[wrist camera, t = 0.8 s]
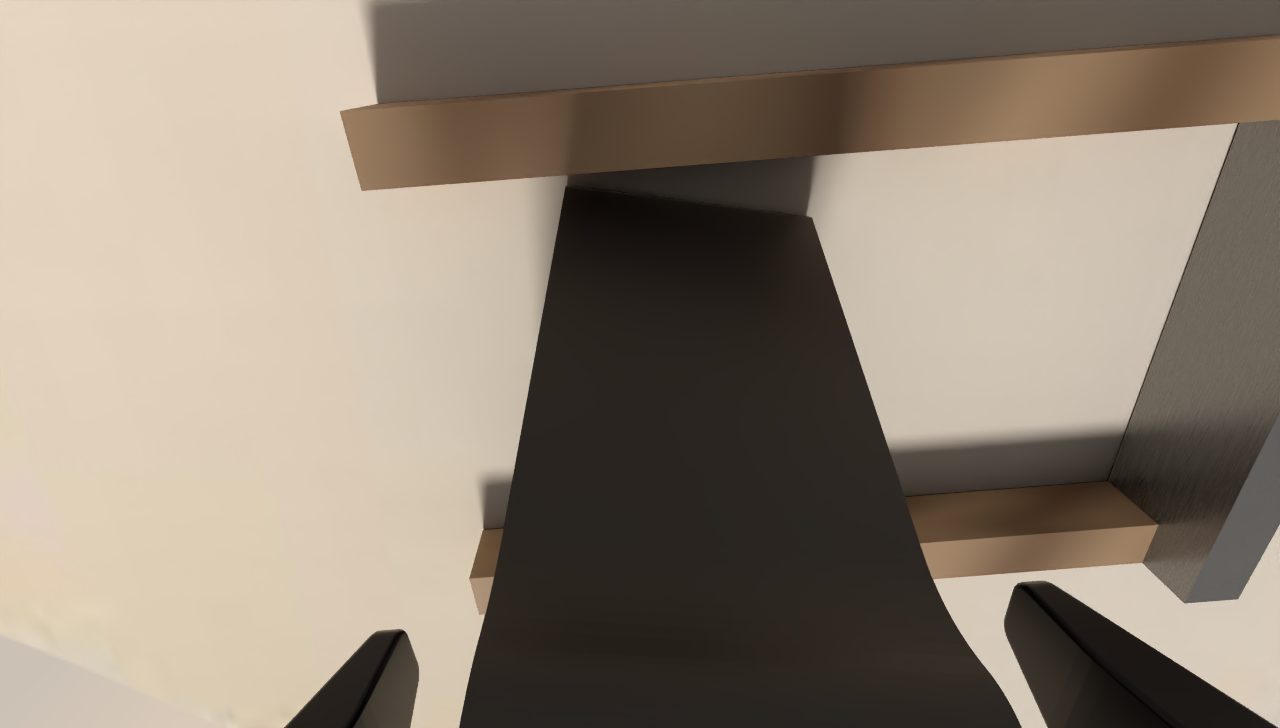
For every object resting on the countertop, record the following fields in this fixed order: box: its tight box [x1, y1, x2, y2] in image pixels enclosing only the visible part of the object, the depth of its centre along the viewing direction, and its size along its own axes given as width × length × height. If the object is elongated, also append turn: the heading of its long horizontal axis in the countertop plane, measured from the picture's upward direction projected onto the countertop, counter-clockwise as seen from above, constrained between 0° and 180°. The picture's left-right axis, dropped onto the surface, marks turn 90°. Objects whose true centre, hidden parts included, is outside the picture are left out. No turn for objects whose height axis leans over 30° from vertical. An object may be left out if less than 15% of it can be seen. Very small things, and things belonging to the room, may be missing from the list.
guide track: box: [340, 35, 1280, 615], centre depth 16 cm, size 21×14×2 cm, turn 94°
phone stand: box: [459, 186, 1022, 728], centre depth 11 cm, size 9×6×12 cm, turn 172°
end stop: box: [1108, 34, 1280, 603], centre depth 15 cm, size 2×14×4 cm, turn 4°
